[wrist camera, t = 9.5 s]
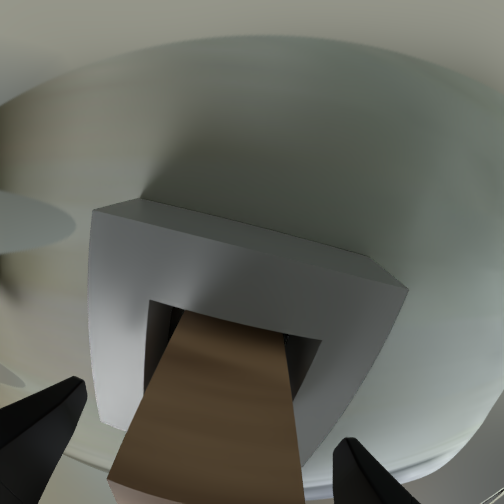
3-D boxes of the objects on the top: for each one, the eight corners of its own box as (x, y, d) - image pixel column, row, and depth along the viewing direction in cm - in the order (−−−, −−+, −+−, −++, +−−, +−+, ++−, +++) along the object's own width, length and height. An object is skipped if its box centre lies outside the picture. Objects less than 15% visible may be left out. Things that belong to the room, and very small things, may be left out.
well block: (296, 417, 15) (302, 466, 11) (125, 377, 15) (100, 421, 11) (369, 256, 12) (409, 289, 9) (138, 198, 12) (92, 210, 8)
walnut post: (257, 369, 14) (256, 547, 5) (185, 353, 14) (126, 522, 4) (278, 307, 13) (306, 514, 4) (196, 287, 13) (107, 478, 3)
